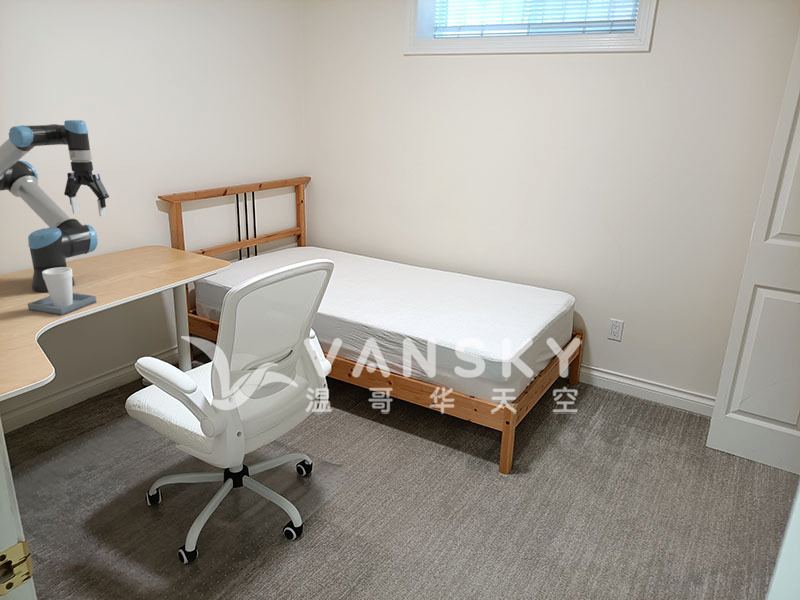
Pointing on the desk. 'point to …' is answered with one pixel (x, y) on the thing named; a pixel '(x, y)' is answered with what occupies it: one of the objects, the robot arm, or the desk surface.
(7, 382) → the desk surface
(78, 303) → the grey tray
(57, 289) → the foam cup
